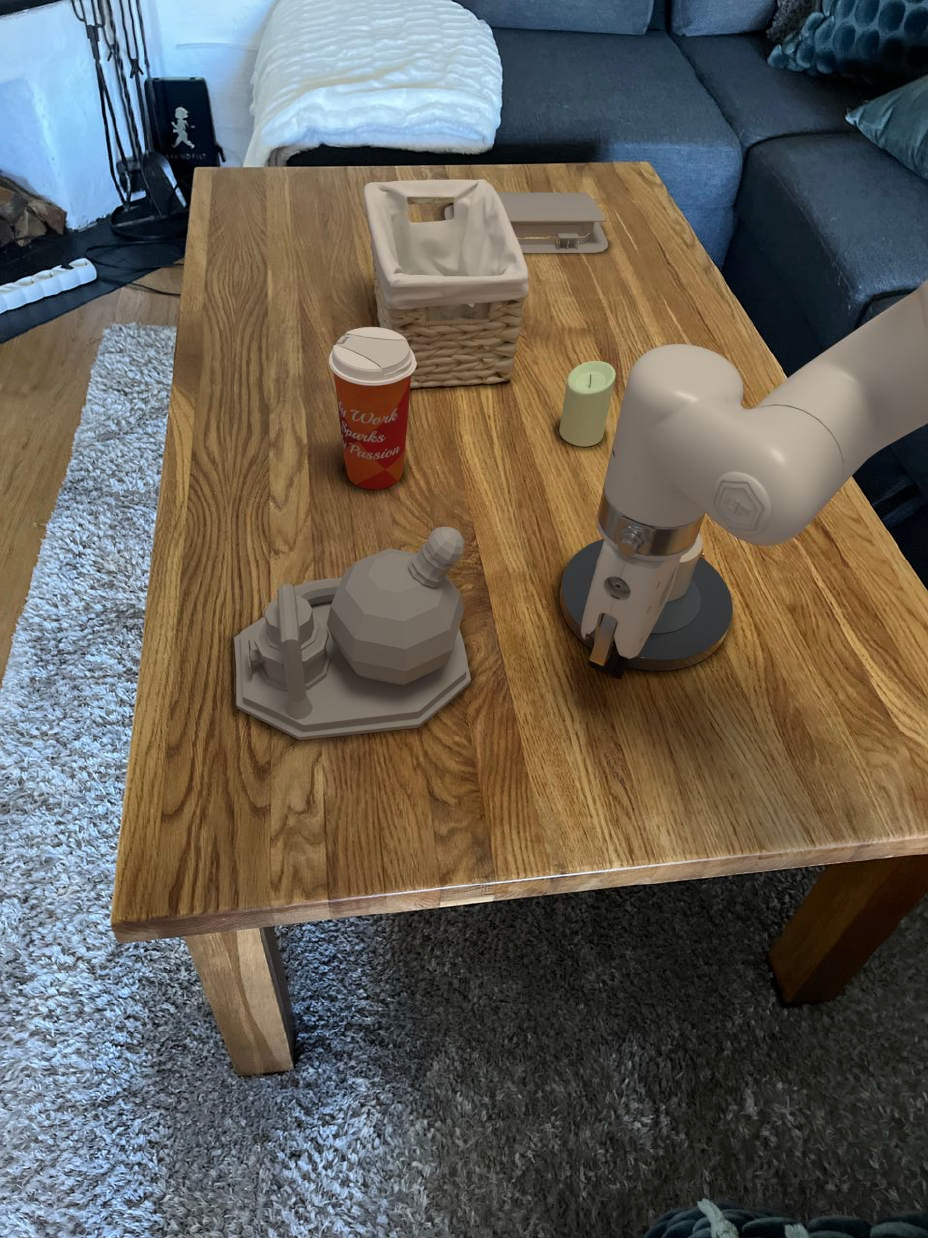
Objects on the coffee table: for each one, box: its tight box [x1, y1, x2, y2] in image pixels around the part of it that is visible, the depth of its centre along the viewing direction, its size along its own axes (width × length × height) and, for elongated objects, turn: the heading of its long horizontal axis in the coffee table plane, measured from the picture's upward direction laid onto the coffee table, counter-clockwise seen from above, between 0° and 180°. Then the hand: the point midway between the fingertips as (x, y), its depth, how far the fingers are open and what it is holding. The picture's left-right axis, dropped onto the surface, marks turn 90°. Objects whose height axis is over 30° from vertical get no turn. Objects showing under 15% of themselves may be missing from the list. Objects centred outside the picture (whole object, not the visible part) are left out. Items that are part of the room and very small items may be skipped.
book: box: [443, 191, 609, 254], centre depth 136 cm, size 15×23×4 cm, turn 97°
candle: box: [558, 360, 617, 448], centre depth 102 cm, size 5×5×8 cm
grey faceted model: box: [233, 526, 472, 741], centre depth 76 cm, size 20×15×15 cm
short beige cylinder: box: [667, 532, 704, 602], centre depth 87 cm, size 6×6×5 cm
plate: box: [559, 538, 734, 672], centre depth 88 cm, size 16×16×2 cm
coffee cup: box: [328, 326, 417, 491], centre depth 94 cm, size 8×8×15 cm
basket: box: [363, 178, 530, 389], centre depth 111 cm, size 24×16×15 cm
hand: (607, 666), depth 82 cm, fingers closed
